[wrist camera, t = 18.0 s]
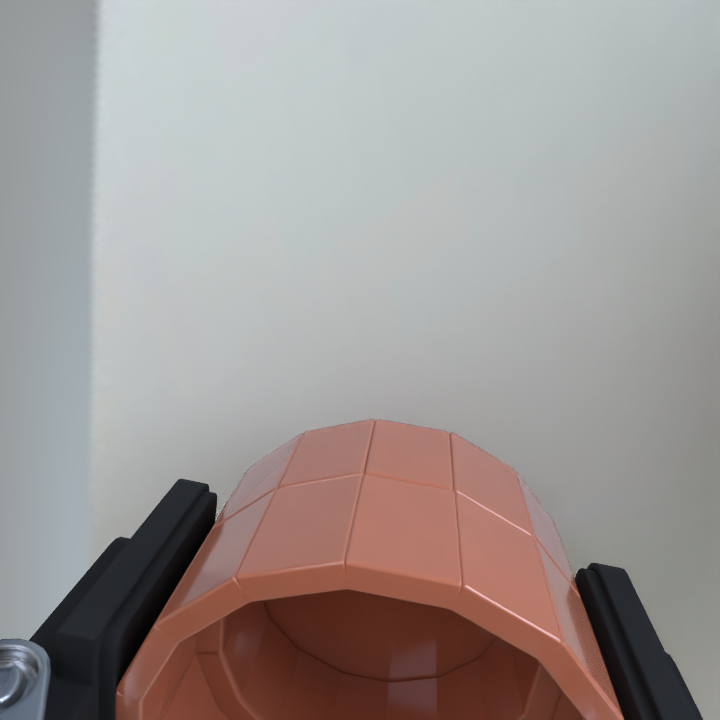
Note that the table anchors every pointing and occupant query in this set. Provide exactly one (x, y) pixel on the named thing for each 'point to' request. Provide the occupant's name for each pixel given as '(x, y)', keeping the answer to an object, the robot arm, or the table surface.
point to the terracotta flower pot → (374, 594)
